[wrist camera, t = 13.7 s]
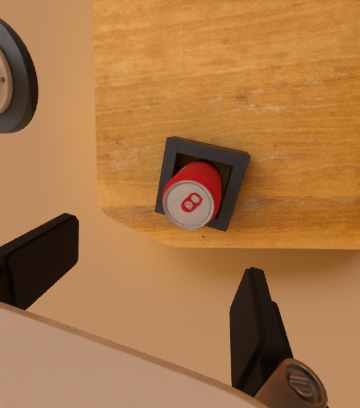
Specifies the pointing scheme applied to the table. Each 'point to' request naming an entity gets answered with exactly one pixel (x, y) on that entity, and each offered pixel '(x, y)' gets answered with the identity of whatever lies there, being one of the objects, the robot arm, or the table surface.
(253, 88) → the table surface
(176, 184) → the beverage can
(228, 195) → the frame
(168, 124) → the table surface
